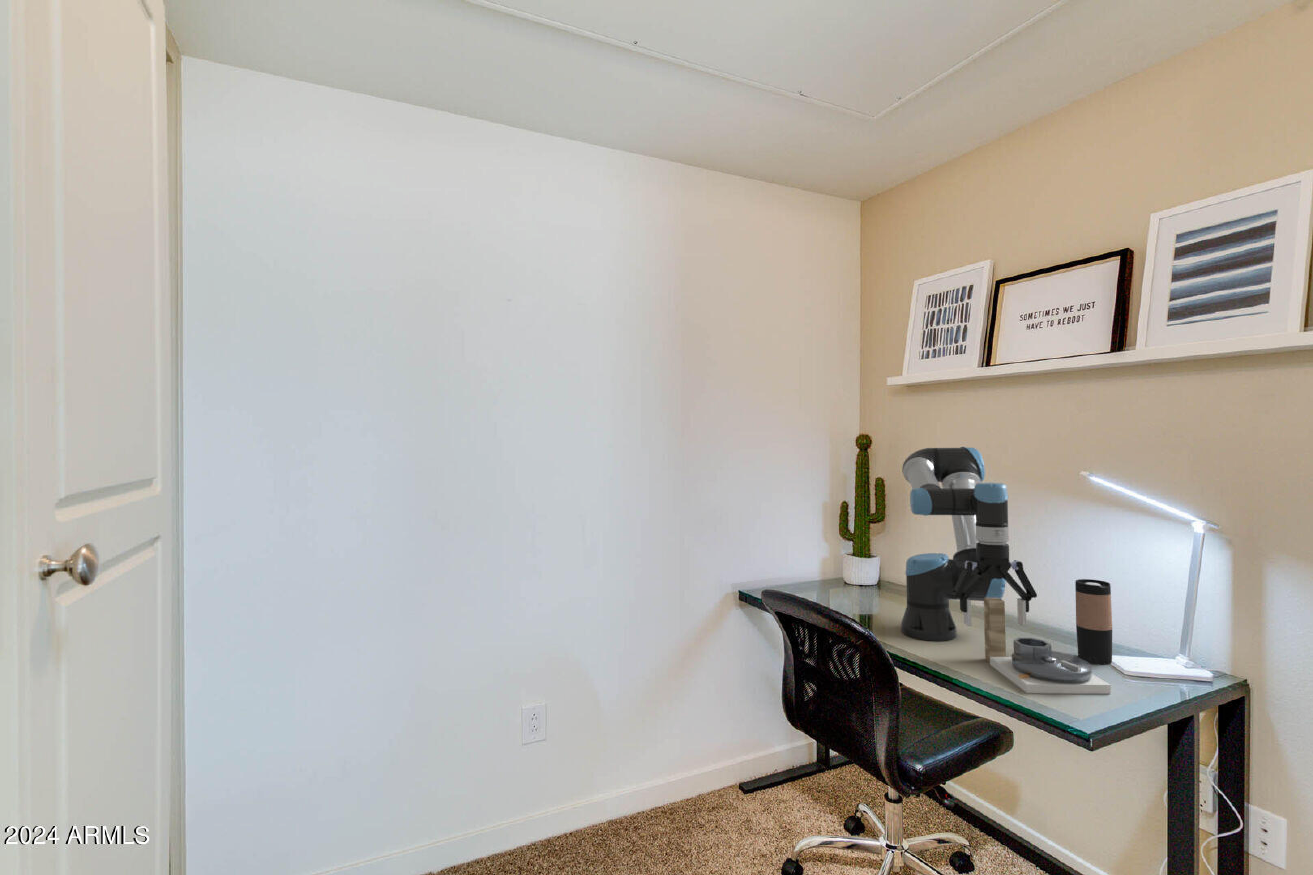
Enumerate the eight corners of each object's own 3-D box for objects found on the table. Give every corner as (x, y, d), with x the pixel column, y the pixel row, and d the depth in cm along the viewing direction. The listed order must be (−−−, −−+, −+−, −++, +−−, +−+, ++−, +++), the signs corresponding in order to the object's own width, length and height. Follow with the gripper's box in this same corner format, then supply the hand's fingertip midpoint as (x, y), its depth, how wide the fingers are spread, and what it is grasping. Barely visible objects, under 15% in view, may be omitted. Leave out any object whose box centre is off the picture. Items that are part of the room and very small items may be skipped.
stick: (985, 658, 161) (983, 597, 162) (999, 658, 161) (997, 597, 161) (991, 663, 158) (989, 601, 158) (1006, 663, 158) (1004, 601, 158)
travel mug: (1078, 652, 164) (1076, 577, 165) (1114, 658, 160) (1111, 581, 160) (1075, 660, 159) (1073, 583, 159) (1112, 667, 154) (1110, 586, 154)
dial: (998, 656, 155) (998, 637, 156) (1065, 656, 154) (1064, 637, 154) (1033, 681, 139) (1033, 660, 139) (1108, 682, 138) (1107, 660, 138)
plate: (990, 664, 157) (989, 654, 157) (1063, 664, 156) (1063, 655, 156) (1027, 693, 139) (1026, 682, 139) (1110, 693, 138) (1110, 682, 138)
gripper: (948, 544, 157) (951, 628, 156) (1050, 544, 155) (1053, 628, 155) (937, 540, 164) (939, 620, 164) (1034, 540, 163) (1037, 620, 162)
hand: (994, 624), depth 159 cm, fingers open, 13 cm apart
